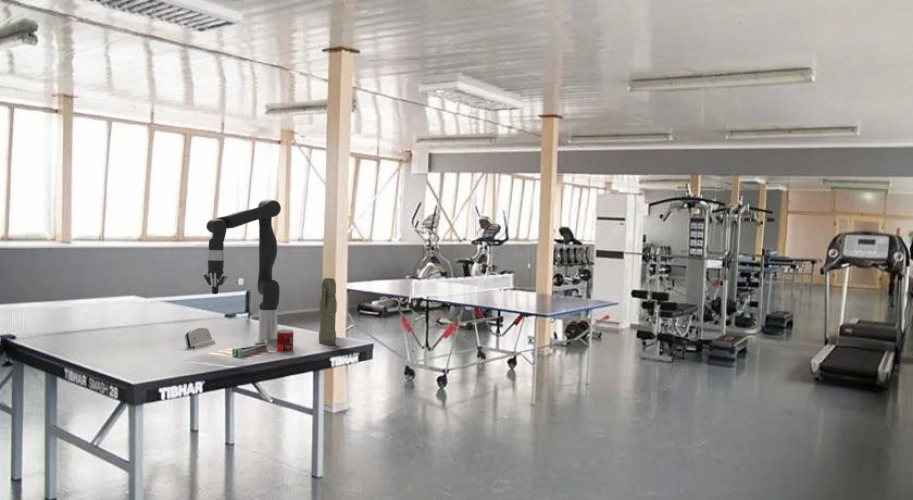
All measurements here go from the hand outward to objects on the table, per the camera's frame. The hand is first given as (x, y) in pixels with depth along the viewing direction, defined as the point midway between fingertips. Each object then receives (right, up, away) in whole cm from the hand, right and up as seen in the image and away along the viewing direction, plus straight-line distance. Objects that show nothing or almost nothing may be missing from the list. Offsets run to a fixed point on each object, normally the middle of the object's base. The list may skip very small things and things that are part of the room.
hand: (215, 293), depth 340 cm
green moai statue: (+52, -28, +20) cm, 62 cm away
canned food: (+36, -29, -6) cm, 47 cm away
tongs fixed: (+24, -27, -17) cm, 40 cm away
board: (+18, -28, -15) cm, 36 cm away
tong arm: (+22, -27, -17) cm, 39 cm away
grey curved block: (-10, -27, +6) cm, 29 cm away
